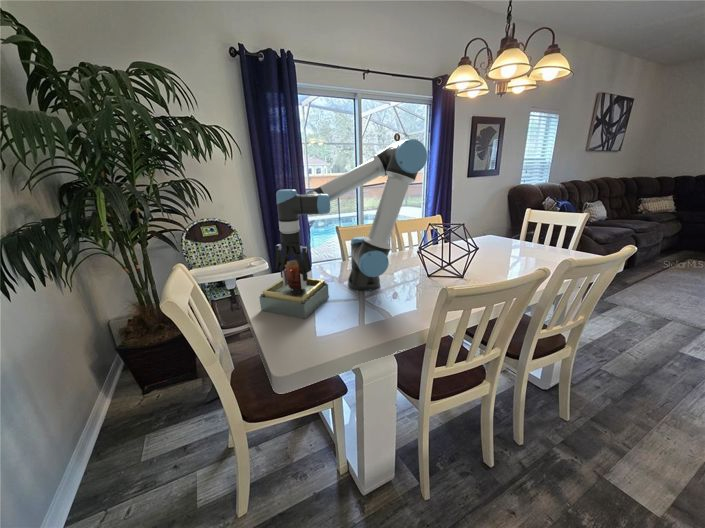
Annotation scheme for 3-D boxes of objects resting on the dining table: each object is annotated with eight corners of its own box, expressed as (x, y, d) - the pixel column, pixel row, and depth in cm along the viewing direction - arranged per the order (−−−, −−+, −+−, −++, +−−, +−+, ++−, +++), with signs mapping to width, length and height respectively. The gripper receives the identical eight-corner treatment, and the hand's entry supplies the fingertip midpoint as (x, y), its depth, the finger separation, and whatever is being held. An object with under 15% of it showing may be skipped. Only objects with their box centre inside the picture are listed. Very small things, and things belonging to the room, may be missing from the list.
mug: (291, 282, 123) (289, 259, 120) (311, 283, 121) (308, 260, 118) (279, 294, 112) (276, 269, 109) (300, 295, 110) (298, 270, 107)
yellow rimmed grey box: (328, 298, 125) (327, 279, 122) (305, 321, 107) (303, 299, 104) (283, 291, 132) (281, 273, 130) (255, 311, 115) (252, 290, 112)
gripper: (318, 230, 109) (321, 286, 116) (273, 227, 116) (279, 280, 123) (308, 235, 102) (312, 293, 110) (261, 231, 109) (268, 286, 117)
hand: (295, 286), depth 116 cm, fingers open, 8 cm apart
